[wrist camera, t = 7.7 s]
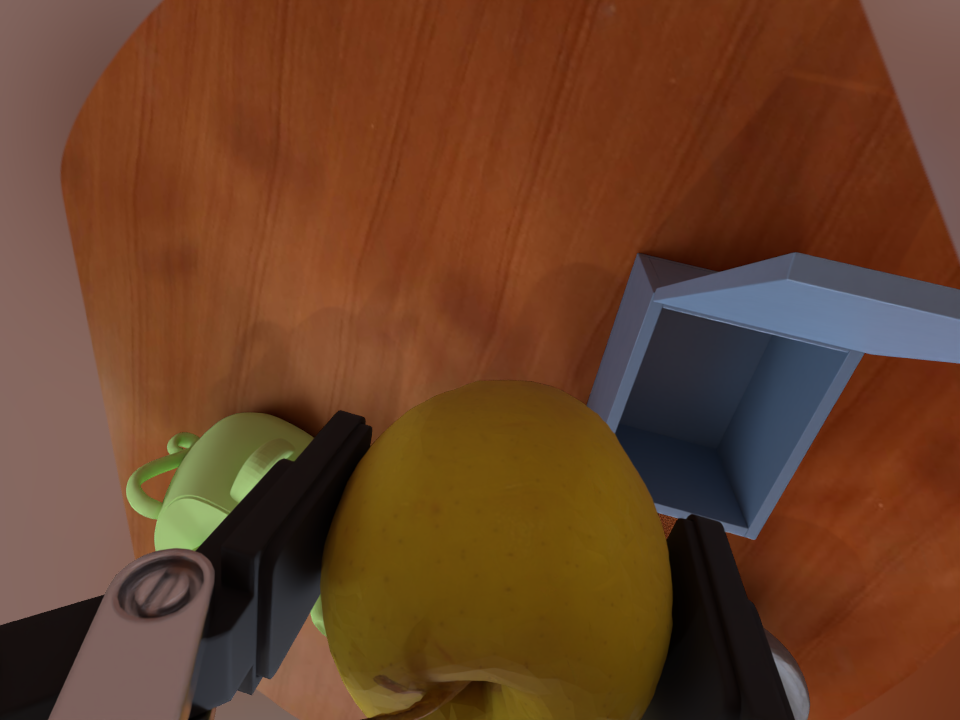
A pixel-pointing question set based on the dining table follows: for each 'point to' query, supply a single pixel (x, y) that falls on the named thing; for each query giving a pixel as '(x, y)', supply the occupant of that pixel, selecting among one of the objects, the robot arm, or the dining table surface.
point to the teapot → (215, 478)
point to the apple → (498, 565)
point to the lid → (830, 305)
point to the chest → (712, 401)
